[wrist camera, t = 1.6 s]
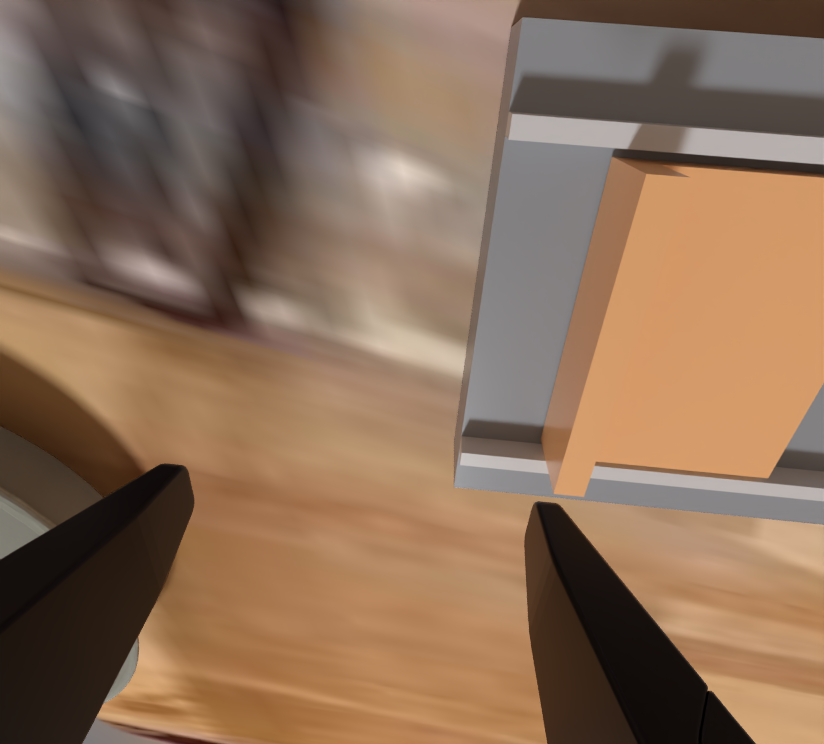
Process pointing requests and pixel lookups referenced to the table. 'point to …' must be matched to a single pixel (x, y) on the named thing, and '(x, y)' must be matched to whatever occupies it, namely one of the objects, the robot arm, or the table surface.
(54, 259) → the table surface
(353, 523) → the table surface
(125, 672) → the cake pan
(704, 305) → the shutter
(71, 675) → the robot arm
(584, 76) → the socket plate
